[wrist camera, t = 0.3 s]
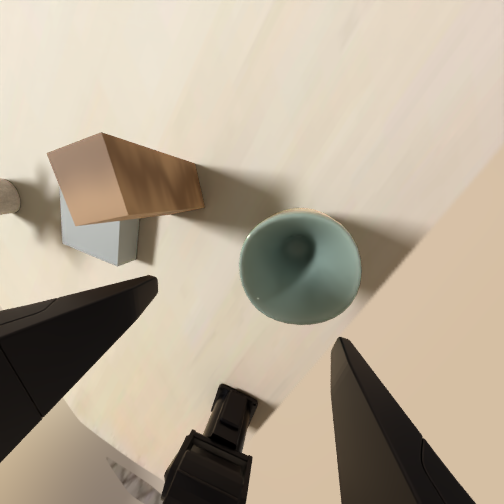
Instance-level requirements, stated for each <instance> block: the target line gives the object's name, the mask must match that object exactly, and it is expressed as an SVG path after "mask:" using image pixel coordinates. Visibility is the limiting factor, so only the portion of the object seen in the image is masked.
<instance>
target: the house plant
mask: <svg viewBox="0 0 504 504" xmlns="http://www.w3.org/2000/svg"><path fill="white" fill-rule="evenodd" d="M19 208H20V197H19V194H18V192H17V190H16V188H15V187H14V186H13V184H12V183H10V182H9V181H8V180H6V179H0V215H2V214H8V213H14V212H17V211H18V210H19Z"/></svg>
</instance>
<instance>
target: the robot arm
mask: <svg viewBox="0 0 504 504" xmlns="http://www.w3.org/2000/svg"><path fill="white" fill-rule="evenodd" d="M157 293H158V280H157V278H156V277H154V276H151V275H147V276H143V277H139V278H135V279H131V280H127V281H123V282H119V283H115V284H111V285H107V286H103V287H99V288H95V289H91V290H87V291H83V292H79V293H75V294H71V295H67V296H63V297H59V298H58V299H57V298H55V299H51V300H47V301H43V302H38V303H34V304H30V305H26V306H21V307H16V308H12V309H7V310H2V311H0V462H1V461H2V460H3V459H4V458H5V457H6V456H7V455H8V454H9V453H10V452H11V451H12V450H13V449H14V448H15V447H16V446H17V445H18V444H19V443H20V442H21V440H22V439H23V438H24V437H25V436H26V435H27V434H28V433H29V432H30V431H31V430H32V429H33V428H34V427H35V426H36V425H37V424H38V423H39V422H40V421H41V420H42V417H44V416H45V415H46V414H47V413H48V412H49V411H50V410H51V409H52V408H53V407H54V406H55V405H56V404H57V403H58V401H60V399H61V398H62V397H63V396H64V395H65V394H66V393H67V392H68V391H69V390H70V389H71V388H72V387H73V386H74V385H75V384H76V383H77V382H78V381H79V380H80V379H81V378H82V376H83V375H84V374H85V373H86V372H87V371H88V370H89V369H90V368H91V367H92V366H93V365H94V364H95V363H96V362H97V361H98V360H99V359H100V358H101V357H102V356H103V355H104V353H105V352H106V351H107V350H108V349H109V348H110V347H111V346H112V345H113V344H114V343H115V342H116V341H117V340H118V339H119V338H120V337H121V336H122V335H123V334H124V333H125V331H126V330H127V329H128V328H129V327H130V326H131V325H132V324H133V323H134V322H135V321H136V320H137V319H138V317H139V316H140V315H141V314H142V313H143V311H144V310H145V309H146V307H147V306H148V305H149V304H150V302H151V301H152V300H153V299H154V297H155V296H156V295H157ZM331 401H332V411H333V421H334V431H335V442H336V451H337V462H338V472H339V482H340V492H341V502H342V504H476V503H475V502H474V501H473V500H472V498H471V497H470V496H469V495H468V493H467V492H466V491H465V490H464V488H463V487H462V486H461V485H460V484H459V483H458V481H457V480H456V479H455V477H454V476H453V475H452V474H451V473H450V471H449V470H448V468H447V467H446V466H445V465H444V463H443V462H442V461H441V459H440V458H439V457H438V456H437V454H436V453H435V452H434V451H433V449H432V448H431V447H430V445H429V444H428V443H427V441H426V440H425V439H424V438H422V435H421V433H420V432H419V431H418V429H417V428H416V427H415V426H414V424H413V423H412V422H411V420H410V419H409V418H408V416H407V415H406V414H405V412H404V411H403V410H402V408H401V407H400V406H399V404H398V403H397V402H396V401H395V399H394V398H393V397H392V395H391V394H390V393H389V391H388V390H387V389H386V387H385V386H384V385H383V384H382V383H381V381H380V379H379V378H378V377H377V376H376V374H375V373H374V372H373V371H372V369H371V368H370V366H369V365H368V364H367V363H366V361H365V360H364V358H363V357H362V356H361V354H360V353H359V352H358V351H357V349H356V348H355V347H354V345H353V344H352V343H351V341H350V340H348V339H346V338H342V337H339V338H338V339H337V340H336V342H335V344H334V346H333V348H332V351H331ZM257 405H258V402H257V401H256V400H255V399H253V398H250V397H248V396H246V395H244V394H242V393H240V392H238V391H236V390H233V389H231V388H229V387H227V386H225V385H223V384H220V385H219V388H218V391H217V394H216V397H215V400H214V403H213V406H212V409H211V412H212V414H211V416H210V419H209V421H208V423H207V426H206V428H205V431H204V433H203V435H202V434H200V433H197V432H196V431H195V430H193V429H192V431H191V433H190V434H189V435H188V436H186V438H185V440H184V442H183V444H182V446H181V448H180V450H179V452H178V453H177V455H176V456H175V458H174V459H173V461H172V462H171V464H170V465H169V467H168V468H167V470H166V472H165V475H164V478H165V484H164V488H163V492H162V495H161V500H162V501H163V504H246V498H247V492H248V484H249V478H250V471H251V464H252V456H250V455H249V456H247V455H245V454H243V453H242V450H243V445H244V441H245V436H246V432H247V428H248V426H249V424H250V421H251V419H252V417H253V415H254V412H255V410H256V408H257Z"/></svg>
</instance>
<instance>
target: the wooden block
mask: <svg viewBox="0 0 504 504" xmlns="http://www.w3.org/2000/svg"><path fill="white" fill-rule="evenodd" d="M47 156H48V158H49V161H50V163H51V166H52V168H53V171H54V173H55V176H56V178H57V181H58V183H59V186H60V189H61V191H62V194H63V196H64V199H65V201H66V204H67V206H68V209H69V211H70V214H71V217H72V219H73V222H74V224H75V226H82V225H90V224H98V223H106V222H114V221H122V220H130V219H138V218H146V217H154V216H162V215H170V214H175V213H180V212H185V211H190V210H196V209H201V208H205V205H204V201H203V196H202V192H201V188H200V183H199V179H198V175H197V170H196V166H195V163H192V162H189V161H186V160H183V159H180V158H177V157H174V156H171V155H168V154H165V153H162V152H159V151H156V150H153V149H150V148H147V147H144V146H141V145H138V144H135V143H132V142H129V141H126V140H123V139H120V138H117V137H114V136H111V135H108V134H105V133H102V132H101V133H98V134H96V135H93V136H91V137H88V138H85V139H83V140H80V141H77V142H75V143H72V144H70V145H67V146H64V147H62V148H59V149H56V150H54V151H51V152H49V153H47Z"/></svg>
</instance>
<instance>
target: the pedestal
mask: <svg viewBox="0 0 504 504" xmlns="http://www.w3.org/2000/svg"><path fill="white" fill-rule="evenodd" d="M60 205H61V224H62V243H63V244H65V245H67V246H69V247H72V248H74V249H77V250H79V251H81V252H84V253H86V254H89V255H91V256H94V257H96V258H98V259H101V260H103V261H106V262H108V263H110V264H113V265H115V266H120V265H122V264H125V263H128V262H131V261H133V260H136V254H137V242H138V231H139V219H140V218H138V219H130V220H122V221H114V222H106V223H98V224H90V225H82V226H75V224H74V222H73V219H72V217H71V214H70V211H69V209H68V206H67V204H66V201H65V199H64V196H63V194H62V191H61V189H60Z"/></svg>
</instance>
